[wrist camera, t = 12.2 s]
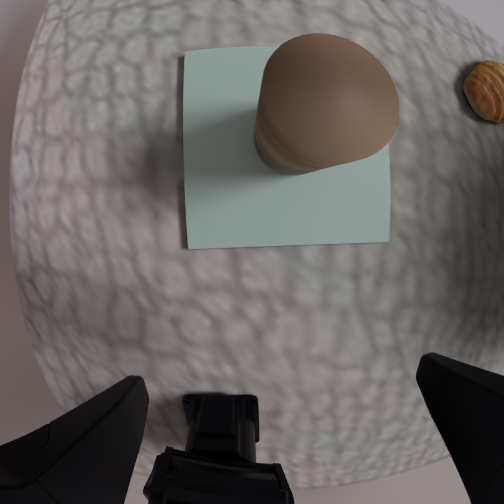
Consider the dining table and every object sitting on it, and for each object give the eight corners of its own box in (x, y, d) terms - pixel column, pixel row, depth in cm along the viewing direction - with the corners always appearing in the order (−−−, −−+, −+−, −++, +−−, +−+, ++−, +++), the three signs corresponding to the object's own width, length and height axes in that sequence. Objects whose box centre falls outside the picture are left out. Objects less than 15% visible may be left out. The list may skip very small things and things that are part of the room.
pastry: (478, 137, 17) (505, 133, 14) (447, 71, 16) (471, 59, 12) (514, 116, 16) (536, 113, 13) (488, 61, 15) (509, 53, 11)
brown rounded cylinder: (331, 175, 17) (404, 166, 8) (254, 175, 17) (264, 160, 8) (327, 104, 16) (388, 46, 7) (252, 101, 16) (258, 29, 7)
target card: (385, 240, 19) (389, 242, 18) (190, 247, 19) (188, 249, 18) (374, 61, 16) (377, 59, 15) (186, 55, 16) (184, 51, 15)
